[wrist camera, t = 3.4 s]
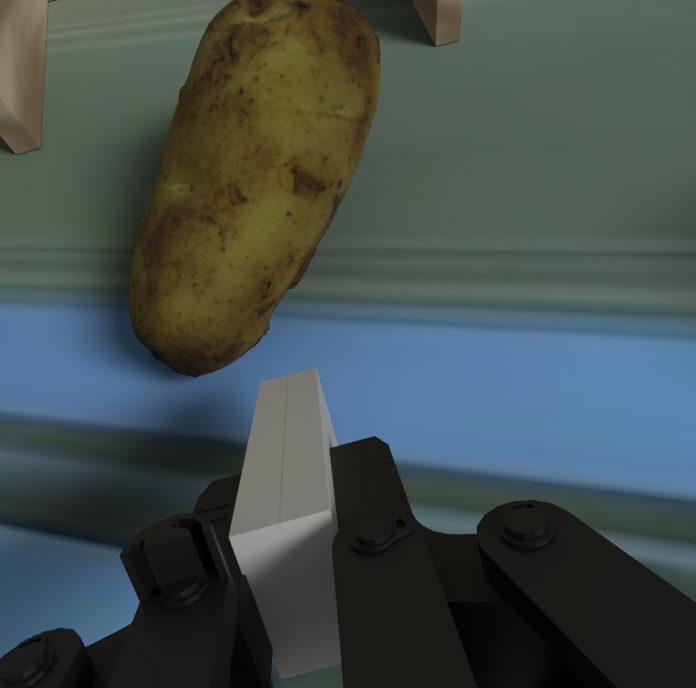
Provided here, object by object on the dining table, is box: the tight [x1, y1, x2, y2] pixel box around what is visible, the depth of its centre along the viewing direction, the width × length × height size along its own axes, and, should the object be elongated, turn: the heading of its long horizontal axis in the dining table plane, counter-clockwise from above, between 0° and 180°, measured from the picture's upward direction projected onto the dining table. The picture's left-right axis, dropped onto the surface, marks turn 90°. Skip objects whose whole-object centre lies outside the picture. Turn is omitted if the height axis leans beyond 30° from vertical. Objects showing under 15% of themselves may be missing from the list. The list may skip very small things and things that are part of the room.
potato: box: [129, 0, 381, 377], centre depth 18 cm, size 8×13×8 cm, turn 137°
